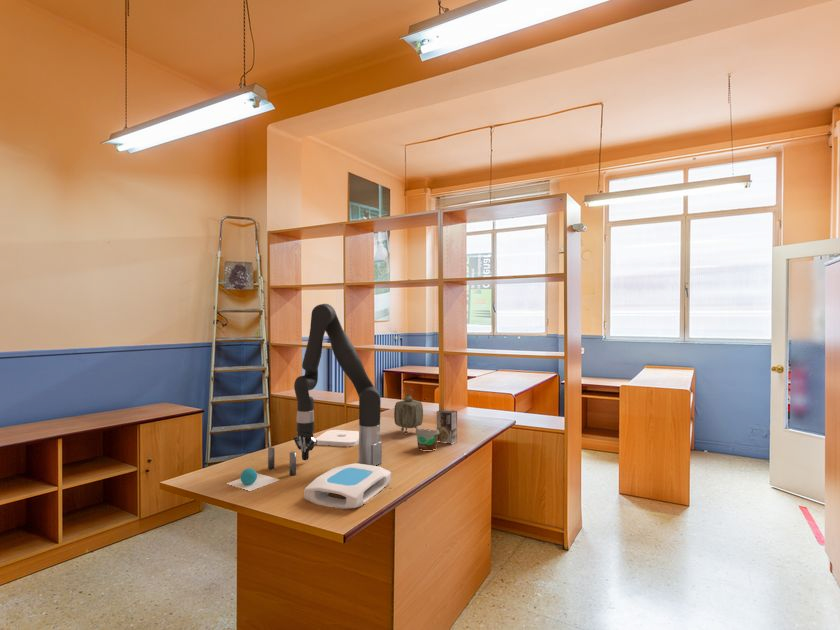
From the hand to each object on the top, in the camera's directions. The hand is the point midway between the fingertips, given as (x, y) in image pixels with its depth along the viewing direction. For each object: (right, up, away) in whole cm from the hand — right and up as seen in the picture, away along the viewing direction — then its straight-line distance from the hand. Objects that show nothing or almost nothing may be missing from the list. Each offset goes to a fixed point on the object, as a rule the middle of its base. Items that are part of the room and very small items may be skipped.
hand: (305, 459), depth 198 cm
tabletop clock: (+44, -2, +53) cm, 69 cm away
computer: (+9, -2, +38) cm, 39 cm away
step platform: (+25, -2, -32) cm, 41 cm away
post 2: (-1, -1, -14) cm, 15 cm away
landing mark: (-14, -1, -23) cm, 27 cm away
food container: (+53, -2, +21) cm, 57 cm away
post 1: (-12, -1, -7) cm, 15 cm away
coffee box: (+65, -2, +35) cm, 73 cm away
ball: (-15, +2, -25) cm, 30 cm away
